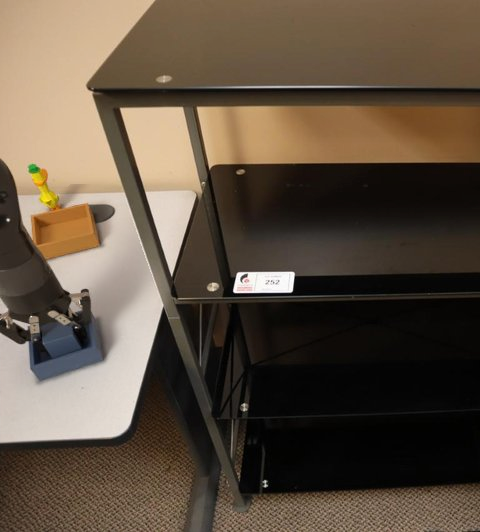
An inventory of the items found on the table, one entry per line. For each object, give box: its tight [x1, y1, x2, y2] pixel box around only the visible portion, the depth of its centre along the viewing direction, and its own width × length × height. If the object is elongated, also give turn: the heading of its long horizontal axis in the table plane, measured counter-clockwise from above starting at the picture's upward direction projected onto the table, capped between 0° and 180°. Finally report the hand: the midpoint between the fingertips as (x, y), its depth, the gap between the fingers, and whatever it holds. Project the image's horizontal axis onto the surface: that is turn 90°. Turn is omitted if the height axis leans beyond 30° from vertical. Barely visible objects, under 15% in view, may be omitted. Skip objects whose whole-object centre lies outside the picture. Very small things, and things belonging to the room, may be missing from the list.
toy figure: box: [27, 163, 62, 211], centre depth 110 cm, size 7×4×12 cm, turn 18°
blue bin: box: [27, 310, 104, 382], centre depth 88 cm, size 10×10×4 cm
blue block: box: [41, 321, 82, 359], centre depth 86 cm, size 4×4×4 cm
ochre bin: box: [30, 202, 101, 260], centre depth 107 cm, size 11×11×4 cm
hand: (66, 344), depth 88 cm, fingers closed on blue block, 4 cm apart
